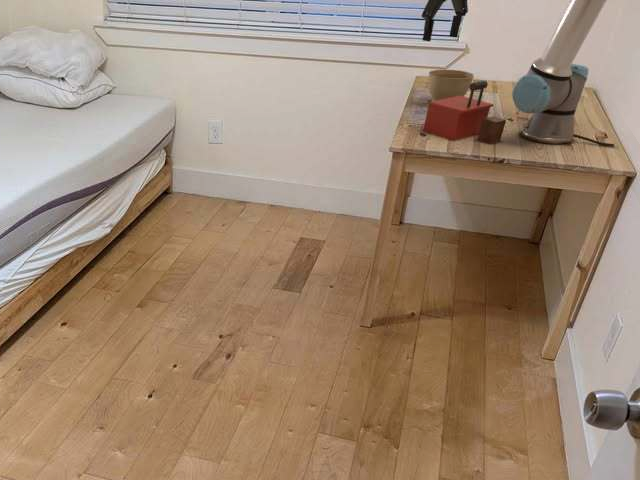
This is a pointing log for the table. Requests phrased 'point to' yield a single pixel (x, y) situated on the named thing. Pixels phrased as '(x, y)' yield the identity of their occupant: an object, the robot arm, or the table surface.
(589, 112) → the table surface
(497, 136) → the block
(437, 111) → the chest
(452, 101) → the lid
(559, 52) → the robot arm
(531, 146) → the table surface
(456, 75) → the planter bowl
